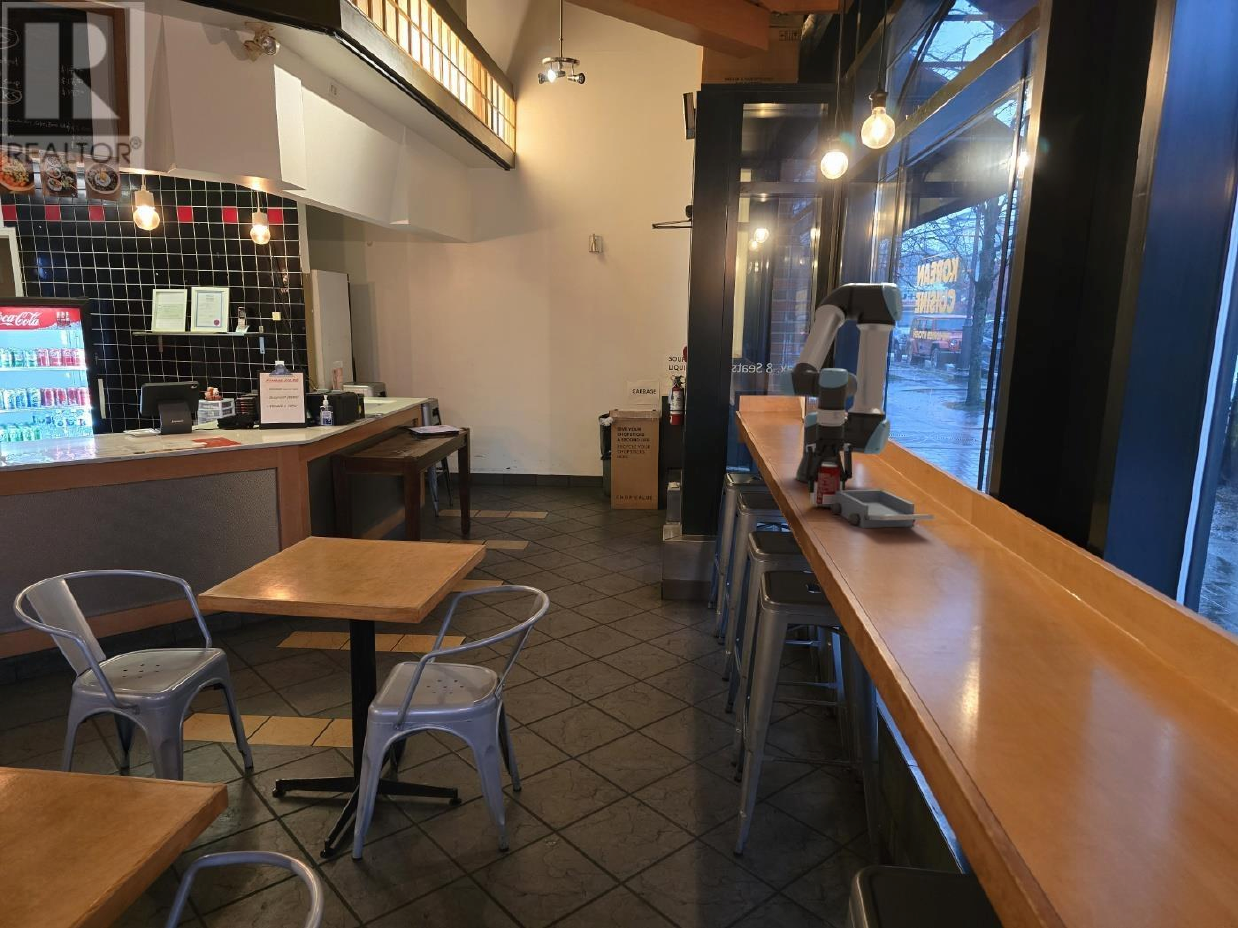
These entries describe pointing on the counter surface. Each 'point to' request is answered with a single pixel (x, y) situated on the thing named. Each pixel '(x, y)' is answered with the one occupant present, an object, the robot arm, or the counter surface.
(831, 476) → the soda can
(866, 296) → the robot arm
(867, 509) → the box
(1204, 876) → the counter surface
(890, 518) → the panel
